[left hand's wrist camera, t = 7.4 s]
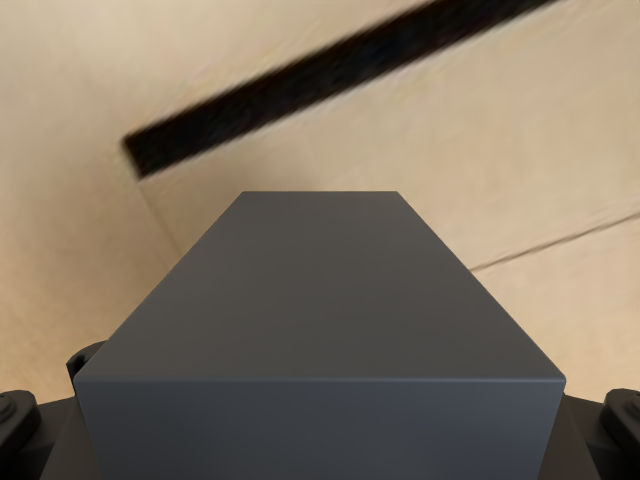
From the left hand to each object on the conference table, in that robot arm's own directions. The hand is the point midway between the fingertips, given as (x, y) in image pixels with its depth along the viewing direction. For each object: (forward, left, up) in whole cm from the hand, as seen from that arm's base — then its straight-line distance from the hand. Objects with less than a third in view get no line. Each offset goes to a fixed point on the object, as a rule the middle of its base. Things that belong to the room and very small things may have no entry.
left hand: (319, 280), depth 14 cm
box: (+7, +2, -1) cm, 7 cm away
